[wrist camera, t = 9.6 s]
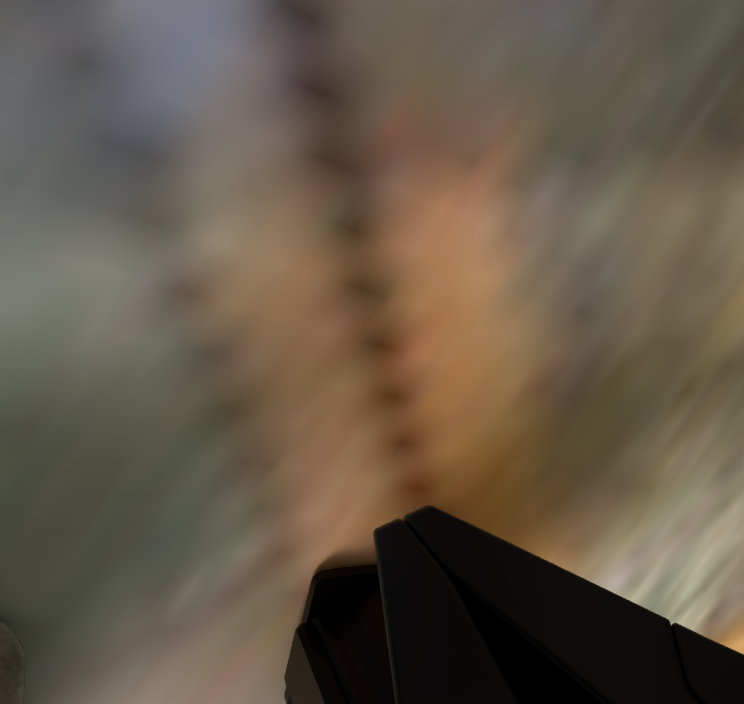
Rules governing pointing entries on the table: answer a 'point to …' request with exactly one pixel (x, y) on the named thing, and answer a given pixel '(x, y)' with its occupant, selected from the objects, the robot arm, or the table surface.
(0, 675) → the vintage camera
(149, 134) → the table surface
